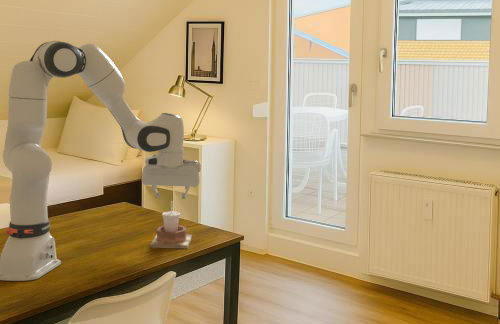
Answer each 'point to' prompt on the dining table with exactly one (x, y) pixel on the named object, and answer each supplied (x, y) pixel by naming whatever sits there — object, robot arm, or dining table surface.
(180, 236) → the bottle stand
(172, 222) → the smoothie
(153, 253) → the dining table surface
